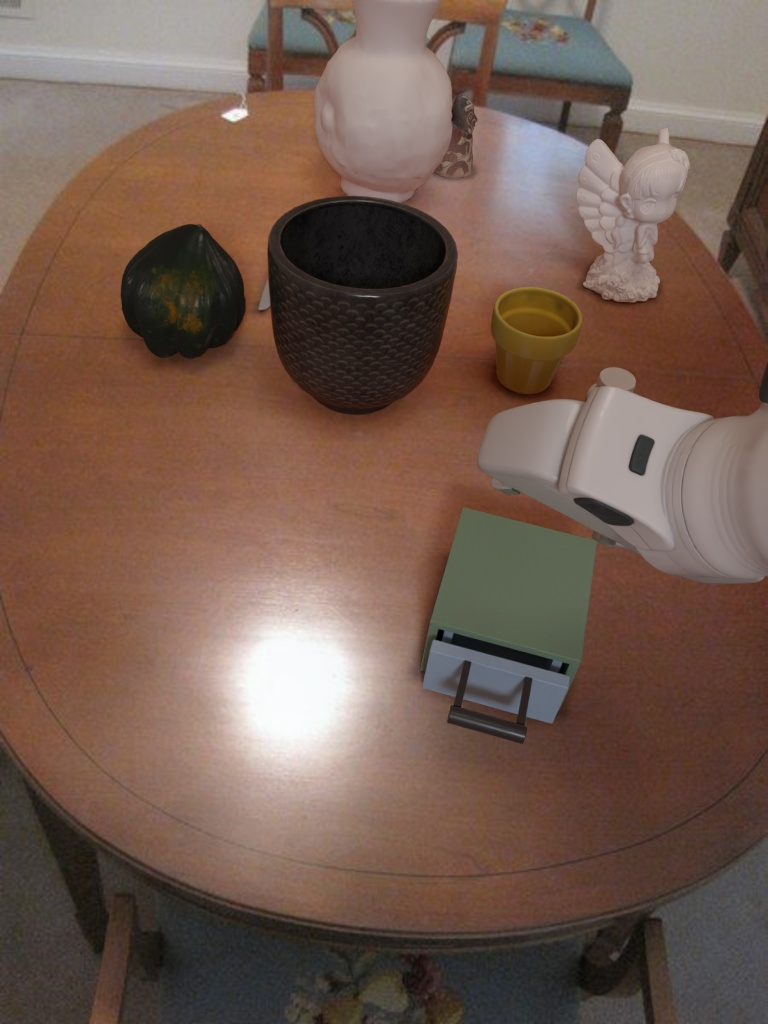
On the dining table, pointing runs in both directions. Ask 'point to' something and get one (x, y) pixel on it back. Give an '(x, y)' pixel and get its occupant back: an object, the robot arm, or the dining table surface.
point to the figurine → (459, 140)
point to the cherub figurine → (628, 214)
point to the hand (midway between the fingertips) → (552, 506)
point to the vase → (385, 102)
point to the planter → (359, 298)
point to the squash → (183, 293)
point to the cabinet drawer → (494, 684)
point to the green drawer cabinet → (516, 588)
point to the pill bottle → (615, 379)
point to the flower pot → (533, 336)
